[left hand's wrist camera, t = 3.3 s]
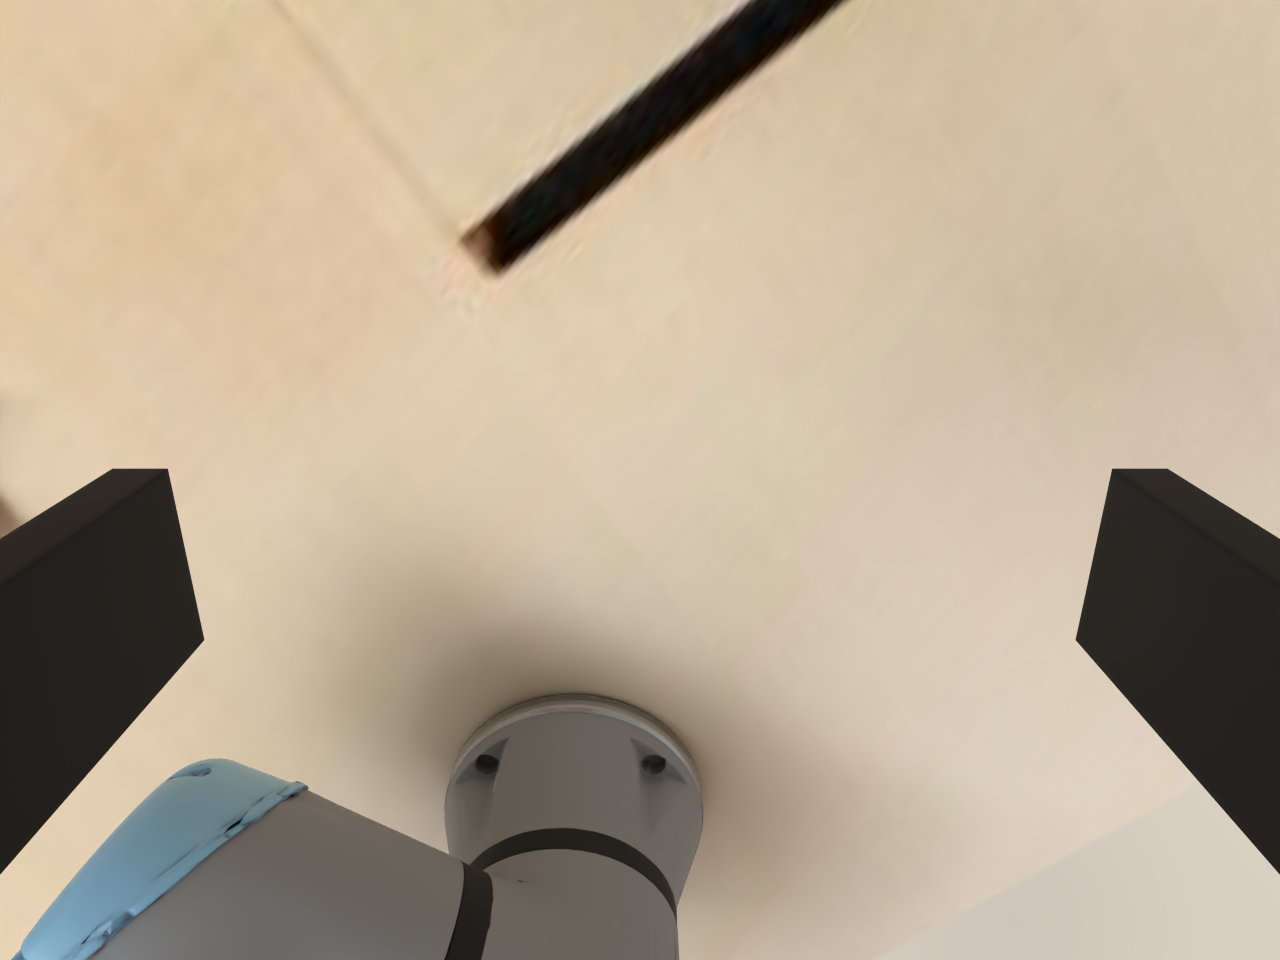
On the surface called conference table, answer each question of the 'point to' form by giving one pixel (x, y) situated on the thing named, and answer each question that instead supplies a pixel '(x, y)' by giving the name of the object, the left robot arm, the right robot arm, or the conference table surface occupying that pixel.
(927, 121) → the conference table surface
